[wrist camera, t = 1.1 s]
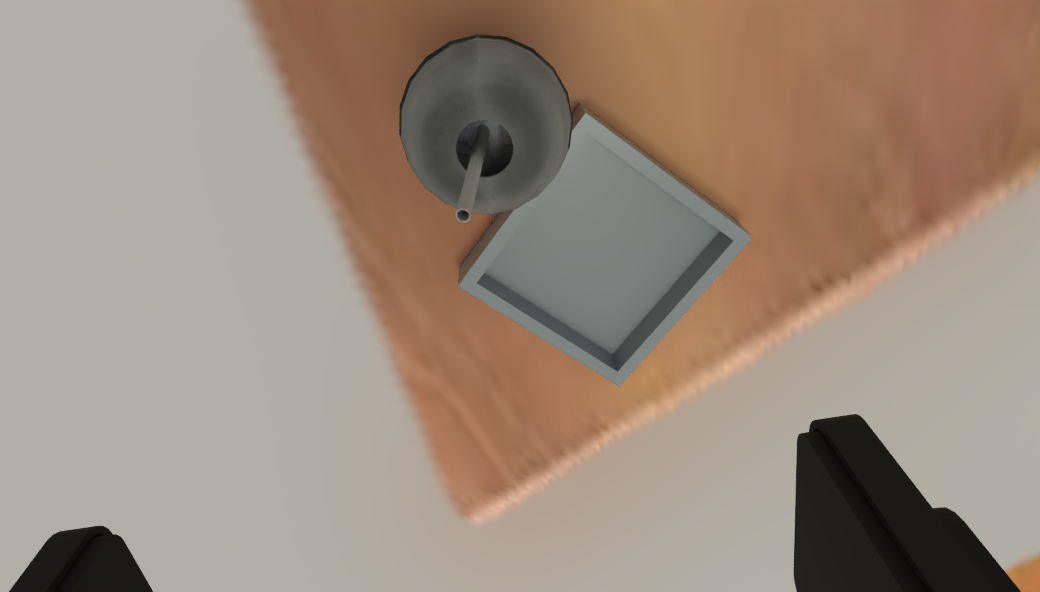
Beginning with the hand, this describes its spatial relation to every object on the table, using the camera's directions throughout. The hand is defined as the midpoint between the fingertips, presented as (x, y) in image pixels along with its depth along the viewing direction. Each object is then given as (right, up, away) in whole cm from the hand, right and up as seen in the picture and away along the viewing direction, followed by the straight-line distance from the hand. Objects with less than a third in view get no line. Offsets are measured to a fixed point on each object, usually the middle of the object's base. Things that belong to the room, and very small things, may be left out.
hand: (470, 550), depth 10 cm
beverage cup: (-1, +16, +30) cm, 34 cm away
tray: (+6, +7, +34) cm, 35 cm away
